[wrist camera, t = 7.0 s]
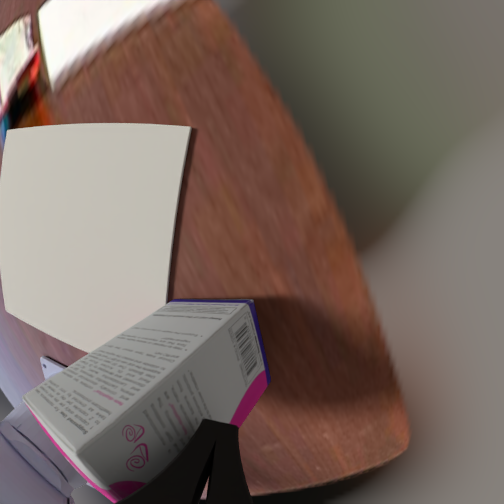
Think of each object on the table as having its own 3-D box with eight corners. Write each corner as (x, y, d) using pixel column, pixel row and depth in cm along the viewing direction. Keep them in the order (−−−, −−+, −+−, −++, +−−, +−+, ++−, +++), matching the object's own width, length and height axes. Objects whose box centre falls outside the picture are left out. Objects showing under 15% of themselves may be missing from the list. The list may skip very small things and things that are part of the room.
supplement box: (171, 297, 17) (15, 392, 7) (255, 297, 15) (77, 457, 5) (195, 372, 19) (79, 478, 8) (273, 383, 16) (163, 538, 6)
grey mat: (163, 377, 19) (162, 379, 18) (7, 309, 20) (5, 310, 19) (191, 127, 15) (190, 126, 15) (9, 130, 16) (7, 130, 15)
